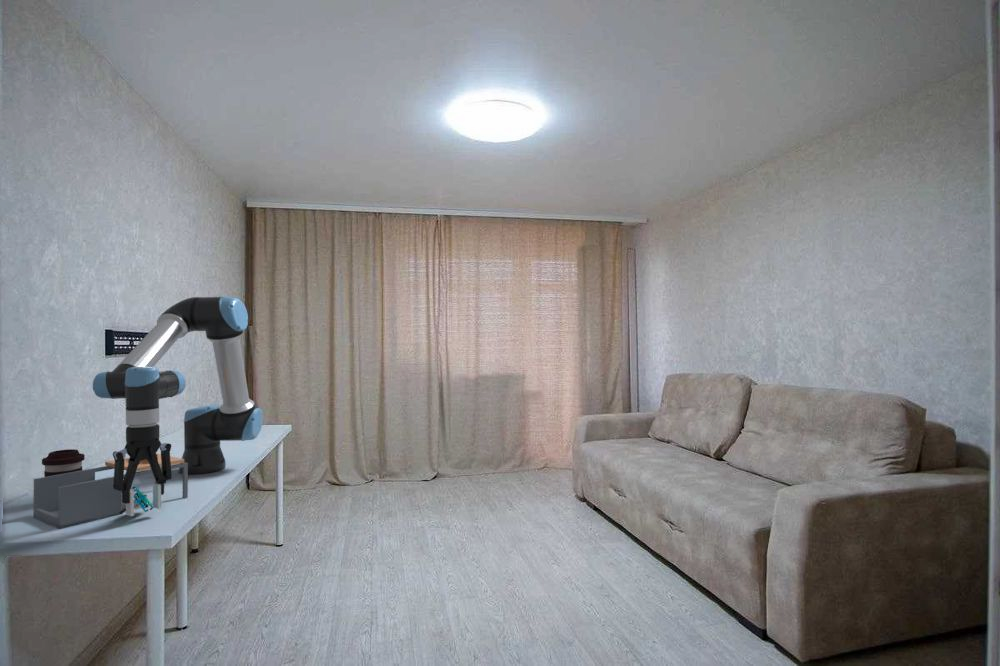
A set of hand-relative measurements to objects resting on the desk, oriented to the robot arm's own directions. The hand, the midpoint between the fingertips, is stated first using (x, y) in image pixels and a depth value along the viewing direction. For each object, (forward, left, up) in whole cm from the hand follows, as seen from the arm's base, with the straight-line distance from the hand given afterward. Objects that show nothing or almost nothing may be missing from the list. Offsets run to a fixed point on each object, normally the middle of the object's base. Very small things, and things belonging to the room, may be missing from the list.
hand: (143, 511), depth 147 cm
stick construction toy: (0, -3, 0) cm, 4 cm away
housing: (-1, -19, -2) cm, 19 cm away
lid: (-9, -19, +9) cm, 23 cm away
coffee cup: (+4, -38, -2) cm, 38 cm away
